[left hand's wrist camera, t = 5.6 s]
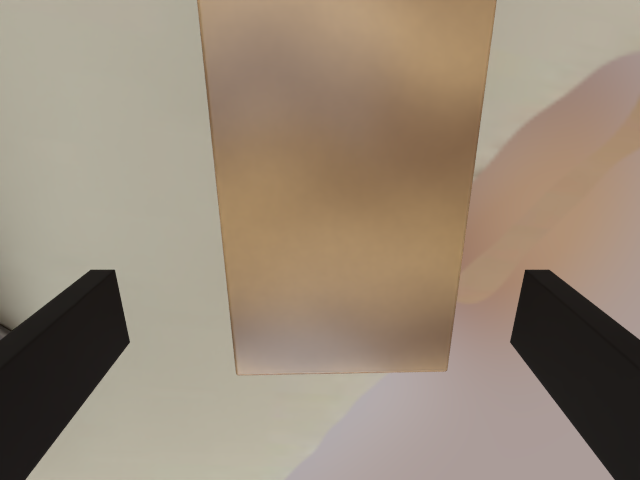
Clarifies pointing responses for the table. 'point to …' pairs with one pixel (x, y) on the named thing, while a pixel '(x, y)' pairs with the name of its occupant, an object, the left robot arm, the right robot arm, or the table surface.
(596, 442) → the left robot arm
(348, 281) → the box
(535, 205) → the table surface
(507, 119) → the table surface
